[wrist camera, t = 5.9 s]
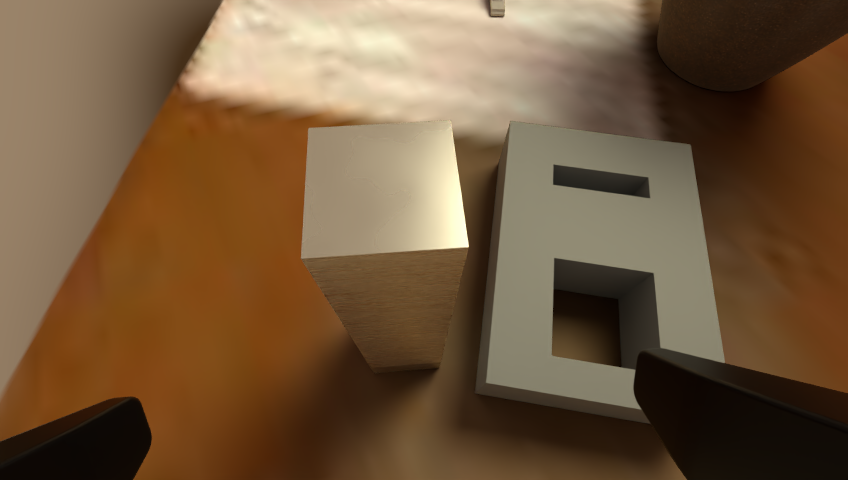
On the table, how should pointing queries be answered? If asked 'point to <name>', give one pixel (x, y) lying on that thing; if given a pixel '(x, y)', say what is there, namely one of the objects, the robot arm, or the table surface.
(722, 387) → the robot arm
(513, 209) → the bore block
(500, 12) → the caliper
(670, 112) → the table surface
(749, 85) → the plant pot
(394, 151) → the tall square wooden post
